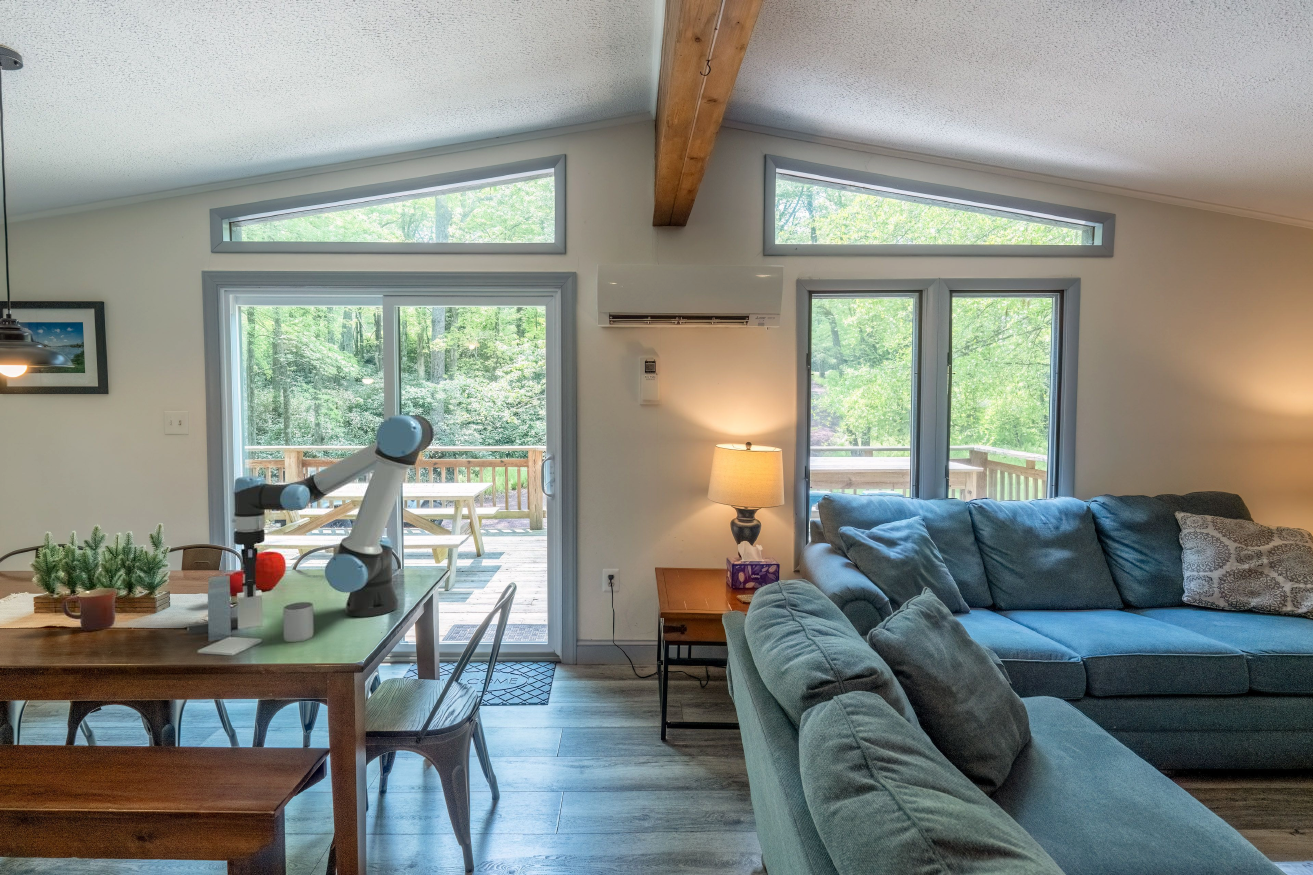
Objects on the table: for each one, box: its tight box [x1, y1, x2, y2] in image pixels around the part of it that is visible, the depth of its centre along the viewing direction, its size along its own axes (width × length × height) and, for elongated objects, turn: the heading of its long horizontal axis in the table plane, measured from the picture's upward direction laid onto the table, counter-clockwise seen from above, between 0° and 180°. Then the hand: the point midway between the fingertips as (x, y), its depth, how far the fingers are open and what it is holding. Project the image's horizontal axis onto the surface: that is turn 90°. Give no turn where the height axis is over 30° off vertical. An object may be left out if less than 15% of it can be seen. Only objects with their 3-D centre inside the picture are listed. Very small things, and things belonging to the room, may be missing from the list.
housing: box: [207, 575, 232, 642], centre depth 180 cm, size 5×20×13 cm, turn 35°
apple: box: [255, 551, 287, 592], centre depth 220 cm, size 12×12×13 cm
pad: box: [197, 636, 263, 656], centre depth 167 cm, size 10×10×1 cm
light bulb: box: [224, 570, 245, 604], centre depth 204 cm, size 9×7×10 cm
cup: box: [282, 601, 314, 643], centre depth 175 cm, size 7×10×9 cm
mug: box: [61, 587, 119, 632], centre depth 179 cm, size 12×9×10 cm
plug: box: [187, 589, 263, 636], centre depth 181 cm, size 18×6×9 cm, turn 125°
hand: (249, 601), depth 184 cm, fingers open, 13 cm apart
